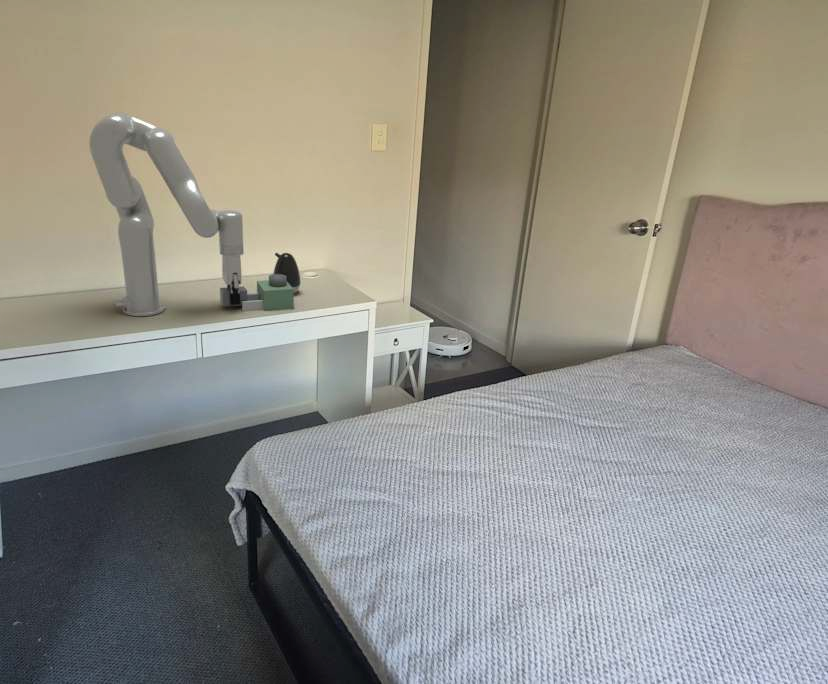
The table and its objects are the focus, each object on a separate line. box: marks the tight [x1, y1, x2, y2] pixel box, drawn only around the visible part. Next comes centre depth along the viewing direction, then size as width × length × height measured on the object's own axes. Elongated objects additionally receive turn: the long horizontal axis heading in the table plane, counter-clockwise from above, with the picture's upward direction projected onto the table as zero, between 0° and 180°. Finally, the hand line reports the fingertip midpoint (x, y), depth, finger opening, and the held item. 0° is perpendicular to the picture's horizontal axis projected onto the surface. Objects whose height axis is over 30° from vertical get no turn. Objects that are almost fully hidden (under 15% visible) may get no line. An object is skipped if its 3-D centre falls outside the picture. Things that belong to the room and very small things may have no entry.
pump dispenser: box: [273, 252, 301, 294], centre depth 219 cm, size 10×10×15 cm
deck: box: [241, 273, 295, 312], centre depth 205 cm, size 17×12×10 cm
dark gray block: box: [219, 285, 248, 307], centre depth 201 cm, size 8×5×5 cm, turn 118°
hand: (233, 301), depth 202 cm, fingers closed on dark gray block, 5 cm apart
